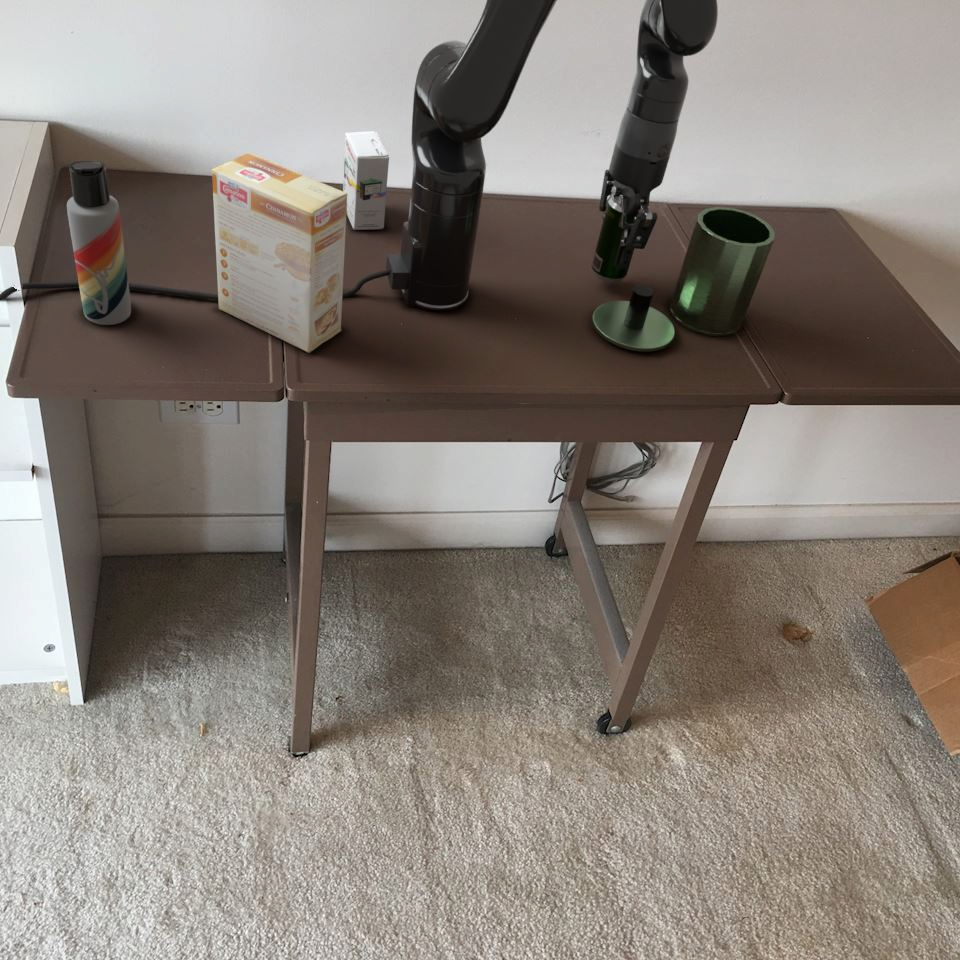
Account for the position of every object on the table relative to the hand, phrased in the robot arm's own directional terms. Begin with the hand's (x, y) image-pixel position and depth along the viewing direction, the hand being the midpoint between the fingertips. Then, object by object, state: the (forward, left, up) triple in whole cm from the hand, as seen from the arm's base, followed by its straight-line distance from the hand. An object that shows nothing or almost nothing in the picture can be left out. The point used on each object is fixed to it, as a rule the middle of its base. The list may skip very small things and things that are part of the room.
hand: (613, 256), depth 142 cm
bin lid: (-1, -12, -4) cm, 13 cm away
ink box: (-33, +21, -5) cm, 39 cm away
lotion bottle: (-70, -3, -5) cm, 70 cm away
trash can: (+12, -9, -5) cm, 16 cm away
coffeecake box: (-49, -6, -5) cm, 49 cm away
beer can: (0, 0, -3) cm, 3 cm away
